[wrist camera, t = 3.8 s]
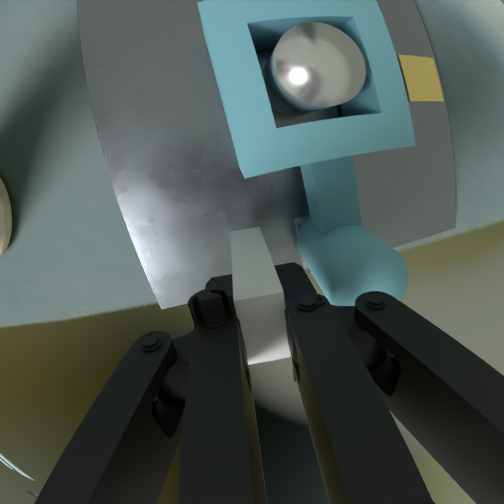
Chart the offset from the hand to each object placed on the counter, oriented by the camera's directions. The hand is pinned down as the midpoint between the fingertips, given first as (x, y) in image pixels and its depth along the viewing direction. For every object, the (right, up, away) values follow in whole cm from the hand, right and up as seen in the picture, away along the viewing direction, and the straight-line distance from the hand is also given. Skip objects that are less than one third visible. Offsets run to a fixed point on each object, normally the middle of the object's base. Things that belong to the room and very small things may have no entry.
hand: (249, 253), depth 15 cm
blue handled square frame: (+3, +6, -1) cm, 7 cm away
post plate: (+2, +9, -1) cm, 10 cm away
